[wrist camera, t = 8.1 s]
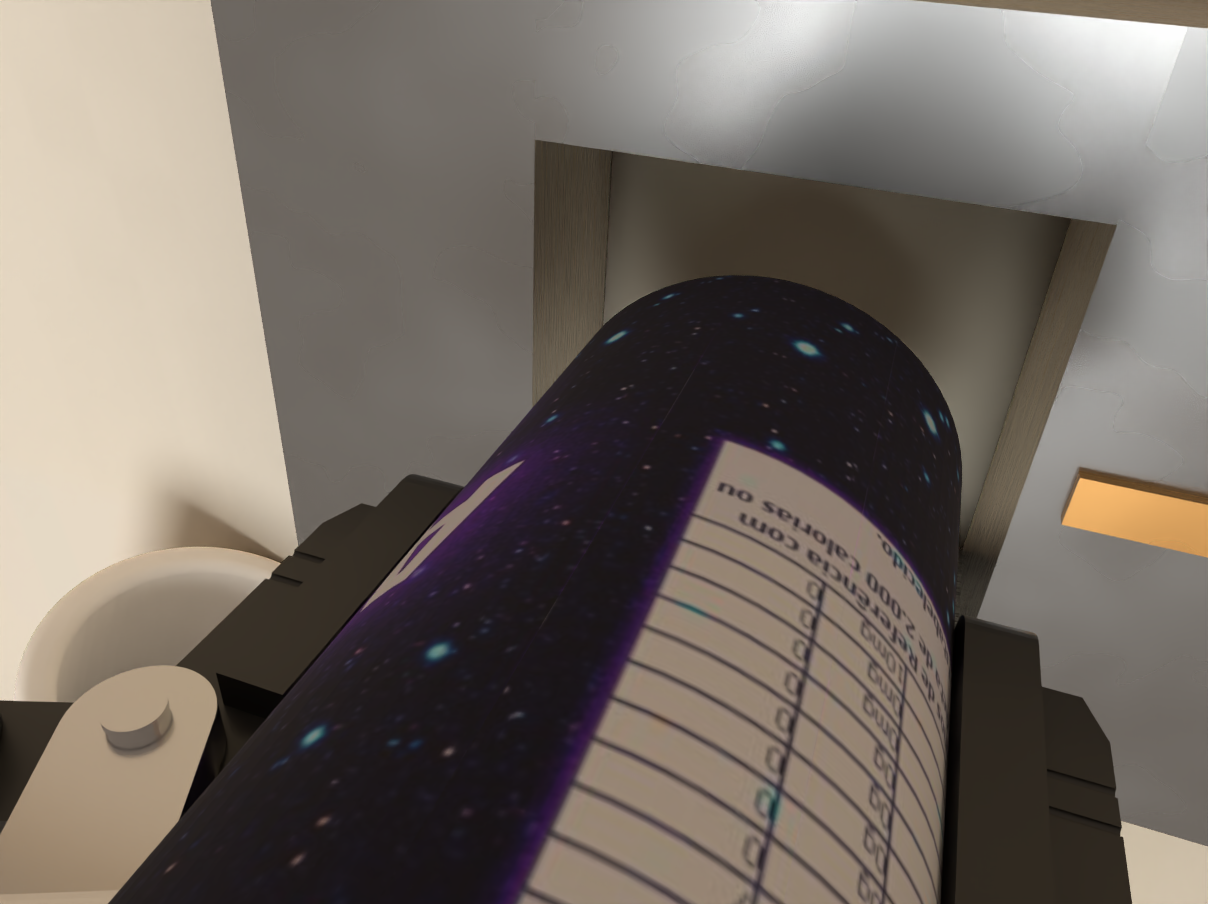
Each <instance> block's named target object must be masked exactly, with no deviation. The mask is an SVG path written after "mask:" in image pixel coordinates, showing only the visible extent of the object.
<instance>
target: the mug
mask: <svg viewBox="0 0 1208 904" xmlns="http://www.w3.org/2000/svg"><path fill="white" fill-rule="evenodd" d="M280 564H281V563H279V562H277V561H274V560H271V559H269V558H266V557H263V556H259V555H256V554H253V553H248V552H244V551H240V550H233V549H227V548H218V547H180V548H171V549H164V550H159V551H153V552H149V553H145V554H141V555H137V556H134V557H131V558H129V559H126V560H123V561H120V562H118V563H116V564H113V565H111V566H109V567H107V568H105V569H103V570H101V571H99V572H97V573H95V574H94V575H92V576H90V577H89V578H87V579H86V580H84V581H83V582H81V583H80V584H78V585H77V586H76V587H74V588H73V589H72V590H70V591H69V592H68V593H67V594H66V595H65V596H64V597H63V598H61V599H60V600H59V601H58V602H57V603H56V604H55V605H54V607H53V608H52V609H51V610H50V611H49V612H48V613H47V615H46V616H45V617H44V618H43V620H42V621H41V622H40V624H39V625H38V627H37V628H36V630H35V631H34V633H33V635H32V636H31V638H30V640H29V642H28V644H27V646H26V648H25V650H24V653H23V656H22V659H21V662H20V665H19V668H18V672H17V677H16V682H15V691H14V699H13V701H37V702H75V701H76V700H77V699H79V698H80V697H81V696H82V695H83V694H84V693H86V692H87V691H88V690H90V689H91V688H93V687H94V686H96V685H97V684H99V683H101V682H103V681H105V680H107V679H108V678H111V677H113V676H115V675H118V674H120V673H123V672H126V671H130V670H133V669H137V668H142V667H147V666H158V665H168V666H176V665H177V664H178V663H179V662H180V661H181V660H182V659H183V658H184V657H185V656H186V655H188V654H189V653H190V652H191V651H192V650H193V649H194V648H195V647H196V646H197V645H198V644H199V643H200V642H201V641H202V640H203V639H204V638H205V637H206V636H207V635H208V634H209V633H210V632H211V631H212V630H213V629H214V628H215V627H216V626H217V625H218V624H219V623H220V622H221V621H222V620H223V619H224V618H225V617H227V616H228V615H229V614H230V613H231V612H232V611H233V610H234V609H235V608H236V607H237V606H238V605H239V604H240V603H241V602H242V601H243V600H244V599H245V598H246V597H247V596H248V595H249V594H250V593H251V592H252V591H253V590H254V589H255V588H256V587H257V586H258V585H259V584H260V583H261V582H262V581H263V580H264V579H270V577H271V575H272V572H273V571H274V570H275V569H276V568H277V567H278V566H279V565H280Z"/></svg>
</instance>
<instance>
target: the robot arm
mask: <svg viewBox="0 0 1208 904" xmlns="http://www.w3.org/2000/svg"><path fill="white" fill-rule="evenodd" d="M463 488H464V486H461V485H457V484H453V483H449V482H445V481H441V480H437V479H433V478H429V477H425V476H421V475H417V474H410V475H408V476H406V477H405V478H404V479H403V480H402V481H401V482H400V483H399V484H398V485H397V486H396V487H395V488H394V489H393V490H392V491H391V492H390V493H389V494H388V495H387V496H386V497H385V498H384V499H383V500H382V501H381V502H380V503H379V504H378V505H377V506H376V507H374V506H371V505H367V504H363V503H361V504H359V505H357V506H355V507H353V508H351V509H349V510H347V511H345V512H343V513H341V514H339V515H337V516H335V517H333V518H331V519H329V520H327V521H325V522H323V523H322V524H321V525H320V526H319V527H318V528H317V529H316V530H315V531H314V532H313V533H312V534H311V535H310V536H309V537H308V538H307V539H306V540H305V541H303V542H302V543H301V544H300V545H299V546H298V547H297V548H296V549H295V552H294V555H293V556H288V557H287V558H286V559H285V560H284V561H283V562H282V563H281V564H280V565H279V566H278V567H277V568H276V569H275V570H274V571H273V572H272V575H271V577H270V579H264V580H263V581H262V582H261V583H260V584H259V585H258V586H257V587H256V588H255V589H254V590H253V591H252V592H251V593H250V594H249V595H248V596H247V597H246V598H245V599H244V600H243V601H242V602H241V603H240V604H239V605H238V606H237V607H236V608H235V609H234V610H233V611H232V612H231V613H230V614H229V615H228V616H227V617H225V618H224V619H223V620H222V621H221V622H220V623H219V624H218V625H217V626H216V627H215V628H214V629H213V630H212V631H211V632H210V633H209V634H208V635H207V636H206V637H205V638H204V639H203V640H202V641H201V642H200V643H199V644H198V645H197V646H196V647H195V648H194V649H193V650H192V651H191V652H190V653H189V654H188V655H186V656H185V657H184V658H183V659H182V660H181V661H180V662H179V663H178V664H177V665H176V666H168V665H158V666H147V667H142V668H137V669H133V670H130V671H126V672H123V673H120V674H118V675H115V676H113V677H111V678H108V679H107V680H105V681H103V682H101V683H99V684H97V685H96V686H94V687H93V688H91V689H90V690H88V691H87V692H86V693H84V694H83V695H82V696H81V697H80V698H79V699H77V700H76V701H75V702H37V701H0V904H108V903H109V902H110V901H111V899H112V898H113V897H114V896H115V895H116V894H117V892H118V891H119V890H120V889H121V888H122V887H123V885H124V884H125V883H126V882H127V881H128V880H129V878H130V877H131V876H132V875H133V874H134V873H135V871H136V870H137V869H138V868H139V867H140V866H141V864H142V863H143V862H144V861H145V860H146V858H147V857H148V856H149V855H150V854H151V853H152V851H153V850H154V849H155V848H156V847H157V846H158V844H159V843H160V842H161V841H162V840H163V839H164V837H165V836H166V835H167V834H168V833H169V832H170V830H171V829H172V828H173V827H174V826H175V825H176V823H177V822H178V821H179V820H180V819H181V818H182V816H183V815H184V814H185V813H186V812H187V811H188V809H189V808H190V807H191V806H192V805H193V804H194V802H195V801H196V800H197V799H198V798H199V797H200V795H201V794H202V793H203V792H204V791H205V790H206V788H207V787H208V786H209V785H210V784H211V783H212V781H213V780H214V779H215V778H216V777H217V776H218V774H219V773H220V772H221V771H222V770H223V769H224V767H225V766H226V765H227V764H228V763H229V762H230V760H231V759H232V758H233V757H234V756H235V755H236V753H237V752H238V751H239V750H240V749H241V748H242V746H243V745H244V744H245V743H246V742H247V741H248V739H249V738H250V737H251V736H252V735H253V734H254V732H255V731H256V730H257V729H258V728H259V727H260V725H261V724H262V723H263V722H264V721H265V720H266V718H267V717H268V716H269V715H270V714H271V712H272V711H273V710H274V709H275V708H276V707H277V705H278V704H279V703H280V702H281V701H282V700H283V698H284V697H285V696H286V695H287V694H288V693H289V691H290V690H291V689H292V688H293V687H294V686H295V684H296V683H297V682H298V681H299V680H300V679H301V677H302V676H303V675H304V674H305V673H306V672H307V670H308V669H309V668H310V667H311V666H312V665H313V663H314V662H315V661H316V660H317V659H318V658H319V656H320V655H321V654H322V653H323V652H324V651H325V649H326V648H327V647H328V646H329V645H330V644H331V642H332V641H333V640H334V639H335V638H336V637H337V635H338V634H339V633H340V632H341V631H342V630H343V628H344V627H345V626H346V625H347V624H348V623H349V621H350V620H351V619H352V618H353V617H354V616H355V614H356V613H357V612H358V611H359V610H360V609H361V607H362V606H363V605H364V604H365V603H366V602H367V600H368V599H369V598H370V597H371V596H372V595H373V593H374V592H375V591H376V590H377V589H378V588H379V586H380V585H381V584H382V583H383V582H384V581H385V579H386V578H387V577H388V576H389V575H390V573H391V572H392V571H393V570H394V569H395V568H396V566H397V565H398V564H399V563H400V562H401V561H402V559H403V558H404V557H405V556H406V555H407V554H408V552H409V551H410V550H411V549H412V548H413V547H414V545H415V544H416V543H417V542H418V541H419V540H420V538H421V537H422V536H423V535H424V534H425V533H426V531H427V530H428V529H429V528H430V527H431V526H432V524H433V523H434V522H435V521H436V520H437V519H438V517H439V516H440V515H441V514H442V513H443V512H444V510H445V509H446V508H447V507H448V506H449V505H450V503H451V502H452V501H453V500H454V499H455V498H456V496H457V495H458V494H459V493H460V492H461V491H462V489H463ZM1115 792H1116V781H1115V774H1114V767H1113V759H1112V752H1111V744H1110V741H1109V740H1108V738H1107V737H1106V735H1105V733H1104V732H1103V730H1102V728H1101V727H1100V725H1099V724H1098V722H1097V720H1096V719H1095V717H1094V715H1093V714H1092V712H1091V711H1090V709H1089V707H1088V706H1087V704H1086V702H1085V701H1084V699H1083V698H1082V697H1079V696H1075V695H1072V694H1068V693H1064V692H1060V691H1057V690H1053V689H1049V688H1045V687H1042V684H1041V668H1040V651H1039V640H1038V636H1037V635H1036V633H1033V632H1029V631H1025V630H1021V629H1017V628H1013V627H1010V626H1006V625H1002V624H998V623H994V622H990V621H986V620H982V619H978V618H974V617H970V616H966V615H961V616H960V618H959V620H958V622H957V624H956V626H955V629H954V649H953V669H952V689H951V709H950V729H949V750H948V770H947V790H946V810H945V830H944V851H943V871H942V891H941V904H1132V900H1131V892H1130V885H1129V877H1128V870H1127V863H1126V855H1125V848H1124V840H1123V837H1120V831H1121V828H1122V826H1121V818H1120V811H1119V804H1118V798H1116V797H1115Z"/></svg>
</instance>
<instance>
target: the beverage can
mask: <svg viewBox="0 0 1208 904" xmlns="http://www.w3.org/2000/svg"><path fill="white" fill-rule="evenodd" d="M961 488H962V460H961V450H960V444H959V439H958V434H957V431H956V427H955V424H954V420H953V418H952V415H951V413H950V410H949V408H948V405H947V403H946V401H945V399H944V397H943V395H942V393H941V391H940V389H939V388H938V386H937V384H936V383H935V381H934V379H933V378H932V376H931V375H930V374H929V372H928V371H927V369H926V368H925V367H924V365H923V364H922V363H921V362H920V360H919V359H918V358H917V357H916V356H915V355H914V353H913V352H912V351H911V350H910V349H909V348H908V347H907V346H906V345H905V344H904V343H903V342H902V341H901V340H900V339H899V338H898V337H897V336H895V335H894V334H893V333H892V332H891V331H890V330H888V329H887V328H886V327H885V326H883V325H882V324H881V323H879V322H878V321H876V320H875V319H874V318H872V317H871V316H869V315H868V314H866V313H865V312H863V311H861V310H860V309H858V308H856V307H855V306H853V305H851V304H849V303H847V302H845V301H843V300H841V299H839V298H837V297H835V296H832V295H830V294H827V293H825V292H823V291H820V290H817V289H814V288H811V287H808V286H805V285H802V284H798V283H794V282H790V281H786V280H780V279H774V278H768V277H759V276H742V275H729V276H714V277H706V278H699V279H694V280H690V281H685V282H681V283H678V284H674V285H671V286H668V287H665V288H663V289H660V290H658V291H655V292H653V293H651V294H649V295H647V296H645V297H643V298H641V299H639V300H637V301H635V302H634V303H632V304H630V305H629V306H627V307H626V308H624V309H623V310H622V311H620V312H619V313H618V314H616V315H615V316H614V317H613V318H611V319H610V320H609V321H608V322H607V323H606V324H605V325H604V326H603V327H602V328H601V329H600V330H599V331H598V332H597V333H596V334H595V335H594V336H593V338H592V339H591V340H590V341H589V342H588V343H587V345H586V346H585V347H584V348H583V349H582V350H581V352H580V353H579V354H578V355H577V356H576V357H575V359H574V360H573V361H572V362H571V363H570V364H569V366H568V367H567V368H566V369H565V370H564V371H563V373H562V374H561V375H560V376H559V377H558V378H557V380H556V381H555V382H554V383H553V384H552V385H551V387H550V388H549V389H548V390H547V391H546V392H545V394H544V395H543V396H542V397H541V398H540V399H539V401H538V402H537V403H536V404H535V405H534V406H533V408H532V409H531V410H530V411H529V412H528V413H527V415H526V416H525V417H524V418H523V419H522V420H521V422H520V423H519V424H518V425H517V426H516V427H515V429H514V430H513V431H512V432H511V433H510V434H509V436H508V437H507V438H506V439H505V440H504V442H503V443H502V444H501V445H500V446H499V447H498V449H497V450H496V451H495V452H494V453H493V454H492V456H491V457H490V458H489V459H488V460H487V461H486V463H485V464H484V465H483V466H482V467H481V468H480V470H479V471H478V472H477V473H476V474H475V475H474V477H473V478H472V479H471V480H470V481H469V482H468V484H467V485H466V486H465V487H464V488H463V489H462V491H461V492H460V493H459V494H458V495H457V496H456V498H455V499H454V500H453V501H452V502H451V503H450V505H449V506H448V507H447V508H446V509H445V510H444V512H443V513H442V514H441V515H440V516H439V517H438V519H437V520H436V521H435V522H434V523H433V524H432V526H431V527H430V528H429V529H428V530H427V531H426V533H425V534H424V535H423V536H422V537H421V538H420V540H419V541H418V542H417V543H416V544H415V545H414V547H413V548H412V549H411V550H410V551H409V552H408V554H407V555H406V556H405V557H404V558H403V559H402V561H401V562H400V563H399V564H398V565H397V566H396V568H395V569H394V570H393V571H392V572H391V573H390V575H389V576H388V577H387V578H386V579H385V581H384V582H383V583H382V584H381V585H380V586H379V588H378V589H377V590H376V591H375V592H374V593H373V595H372V596H371V597H370V598H369V599H368V600H367V602H366V603H365V604H364V605H363V606H362V607H361V609H360V610H359V611H358V612H357V613H356V614H355V616H354V617H353V618H352V619H351V620H350V621H349V623H348V624H347V625H346V626H345V627H344V628H343V630H342V631H341V632H340V633H339V634H338V635H337V637H336V638H335V639H334V640H333V641H332V642H331V644H330V645H329V646H328V647H327V648H326V649H325V651H324V652H323V653H322V654H321V655H320V656H319V658H318V659H317V660H316V661H315V662H314V663H313V665H312V666H311V667H310V668H309V669H308V670H307V672H306V673H305V674H304V675H303V676H302V677H301V679H300V680H299V681H298V682H297V683H296V684H295V686H294V687H293V688H292V689H291V690H290V691H289V693H288V694H287V695H286V696H285V697H284V698H283V700H282V701H281V702H280V703H279V704H278V705H277V707H276V708H275V709H274V710H273V711H272V712H271V714H270V715H269V716H268V717H267V718H266V720H265V721H264V722H263V723H262V724H261V725H260V727H259V728H258V729H257V730H256V731H255V732H254V734H253V735H252V736H251V737H250V738H249V739H248V741H247V742H246V743H245V744H244V745H243V746H242V748H241V749H240V750H239V751H238V752H237V753H236V755H235V756H234V757H233V758H232V759H231V760H230V762H229V763H228V764H227V765H226V766H225V767H224V769H223V770H222V771H221V772H220V773H219V774H218V776H217V777H216V778H215V779H214V780H213V781H212V783H211V784H210V785H209V786H208V787H207V788H206V790H205V791H204V792H203V793H202V794H201V795H200V797H199V798H198V799H197V800H196V801H195V802H194V804H193V805H192V806H191V807H190V808H189V809H188V811H187V812H186V813H185V814H184V815H183V816H182V818H181V819H180V820H179V821H178V822H177V823H176V825H175V826H174V827H173V828H172V829H171V830H170V832H169V833H168V834H167V835H166V836H165V837H164V839H163V840H162V841H161V842H160V843H159V844H158V846H157V847H156V848H155V849H154V850H153V851H152V853H151V854H150V855H149V856H148V857H147V858H146V860H145V861H144V862H143V863H142V864H141V866H140V867H139V868H138V869H137V870H136V871H135V873H134V874H133V875H132V876H131V877H130V878H129V880H128V881H127V882H126V883H125V884H124V885H123V887H122V888H121V889H120V890H119V891H118V892H117V894H116V895H115V896H114V897H113V898H112V899H111V901H110V902H109V903H108V904H941V891H942V871H943V851H944V830H945V810H946V790H947V770H948V750H949V729H950V709H951V689H952V669H953V649H954V629H955V610H956V589H957V569H958V549H959V529H960V508H961Z"/></svg>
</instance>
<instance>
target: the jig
mask: <svg viewBox="0 0 1208 904" xmlns="http://www.w3.org/2000/svg"><path fill="white" fill-rule="evenodd" d="M211 6H212V12H213V18H214V25H215V31H216V37H217V43H218V49H219V56H220V62H221V68H222V74H223V80H224V87H225V93H226V99H227V105H228V111H229V118H230V124H231V130H232V136H233V142H234V149H235V155H236V161H237V167H238V173H239V180H240V186H241V192H242V198H243V204H244V211H245V217H246V223H247V229H248V235H249V242H250V248H251V254H252V260H253V267H254V273H255V279H256V285H257V291H258V298H259V304H260V310H261V316H262V322H263V329H264V335H265V341H266V347H267V353H268V360H269V366H270V372H271V378H272V384H273V391H274V397H275V403H276V409H277V415H278V422H279V428H280V434H281V440H282V446H283V453H284V459H285V465H286V471H287V477H288V484H289V490H290V496H291V502H292V508H293V515H294V521H295V527H296V533H297V539H298V546H299V545H300V544H301V543H302V542H303V541H305V540H306V539H307V538H308V537H309V536H310V535H311V534H312V533H313V532H314V531H315V530H316V529H317V528H318V527H319V526H320V525H321V524H322V523H323V522H325V521H327V520H329V519H331V518H333V517H335V516H337V515H339V514H341V513H343V512H345V511H347V510H349V509H351V508H353V507H355V506H357V505H359V504H361V503H363V504H367V505H371V506H374V507H376V506H377V505H378V504H379V503H380V502H381V501H382V500H383V499H384V498H385V497H386V496H387V495H388V494H389V493H390V492H391V491H392V490H393V489H394V488H395V487H396V486H397V485H398V484H399V483H400V482H401V481H402V480H403V479H404V478H405V477H406V476H408V475H410V474H417V475H421V476H425V477H429V478H433V479H437V480H441V481H445V482H449V483H453V484H457V485H461V486H464V487H465V486H466V485H467V484H468V482H469V481H470V480H471V479H472V478H473V477H474V475H475V474H476V473H477V472H478V471H479V470H480V468H481V467H482V466H483V465H484V464H485V463H486V461H487V460H488V459H489V458H490V457H491V456H492V454H493V453H494V452H495V451H496V450H497V449H498V447H499V446H500V445H501V444H502V443H503V442H504V440H505V439H506V438H507V437H508V436H509V434H510V433H511V432H512V431H513V430H514V429H515V427H516V426H517V425H518V424H519V423H520V422H521V420H522V419H523V418H524V417H525V416H526V415H527V413H528V412H529V411H530V410H531V409H532V408H533V406H534V405H535V404H536V403H537V402H538V401H539V399H540V398H541V397H542V396H543V395H544V394H545V392H546V391H547V390H548V389H549V388H550V387H551V385H552V384H553V383H554V382H555V381H556V380H557V378H558V377H559V376H560V375H561V374H562V373H563V371H564V370H565V369H566V368H567V367H568V366H569V364H570V363H571V362H572V361H573V360H574V359H575V357H576V356H577V355H578V354H579V353H580V352H581V350H582V349H583V348H584V347H585V346H586V345H587V343H588V342H589V341H590V340H591V339H592V338H593V336H594V335H595V334H596V333H597V332H598V331H599V330H600V329H601V328H602V326H603V307H604V289H605V270H606V251H607V233H608V214H609V196H610V177H611V159H612V151H616V152H622V153H629V154H636V155H643V156H650V157H656V158H663V159H670V160H677V161H684V162H691V163H697V164H704V165H711V166H718V167H725V168H731V169H738V170H745V171H752V172H759V173H766V174H772V175H779V176H786V177H793V178H800V179H806V180H813V181H820V182H827V183H834V184H840V185H847V186H854V187H861V188H868V189H875V190H881V191H888V192H895V193H902V194H909V195H915V196H922V197H929V198H936V199H943V200H950V201H956V202H963V203H970V204H977V205H984V206H990V207H997V208H1004V209H1011V210H1018V211H1025V212H1031V213H1038V214H1045V215H1052V216H1059V217H1065V218H1071V221H1070V225H1069V228H1068V231H1067V234H1066V237H1065V240H1064V243H1063V246H1062V249H1061V252H1060V255H1059V258H1058V261H1057V264H1056V267H1055V270H1054V273H1053V276H1052V279H1051V282H1050V285H1049V288H1048V291H1047V294H1046V298H1045V301H1044V304H1043V307H1042V310H1041V313H1040V316H1039V319H1038V322H1037V325H1036V328H1035V331H1034V334H1033V337H1032V340H1031V343H1030V346H1029V349H1028V352H1027V355H1026V358H1025V361H1024V364H1023V367H1022V371H1021V374H1020V377H1019V380H1018V383H1017V386H1016V389H1015V392H1014V395H1013V398H1012V401H1011V404H1010V407H1009V410H1008V413H1007V416H1006V419H1005V422H1004V425H1003V428H1002V431H1001V434H1000V437H999V440H998V443H997V447H996V450H995V453H994V456H993V459H992V462H991V465H990V468H989V471H988V474H987V477H986V480H985V483H984V486H983V489H982V492H981V495H980V498H979V501H978V504H977V507H976V510H975V513H974V516H973V520H972V523H971V526H970V529H969V532H968V535H967V538H966V541H965V544H964V547H963V550H959V549H958V569H957V589H956V610H955V626H956V624H957V622H958V620H959V618H960V616H961V615H966V616H970V617H974V618H978V619H982V620H986V621H990V622H994V623H998V624H1002V625H1006V626H1010V627H1013V628H1017V629H1021V630H1025V631H1029V632H1033V633H1036V635H1037V636H1038V640H1039V651H1040V668H1041V684H1042V687H1045V688H1049V689H1053V690H1057V691H1060V692H1064V693H1068V694H1072V695H1075V696H1079V697H1082V698H1083V699H1084V701H1085V702H1086V704H1087V706H1088V707H1089V709H1090V711H1091V712H1092V714H1093V715H1094V717H1095V719H1096V720H1097V722H1098V724H1099V725H1100V727H1101V728H1102V730H1103V732H1104V733H1105V735H1106V737H1107V738H1108V740H1109V741H1110V744H1111V752H1112V759H1113V767H1114V774H1115V781H1116V792H1115V797H1116V798H1118V804H1119V811H1120V818H1121V821H1124V822H1128V823H1131V824H1134V825H1138V826H1141V827H1144V828H1148V829H1151V830H1155V831H1158V832H1161V833H1165V834H1168V835H1171V836H1175V837H1178V838H1182V839H1185V840H1188V841H1192V842H1195V843H1198V844H1202V845H1205V846H1208V0H211Z"/></svg>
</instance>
